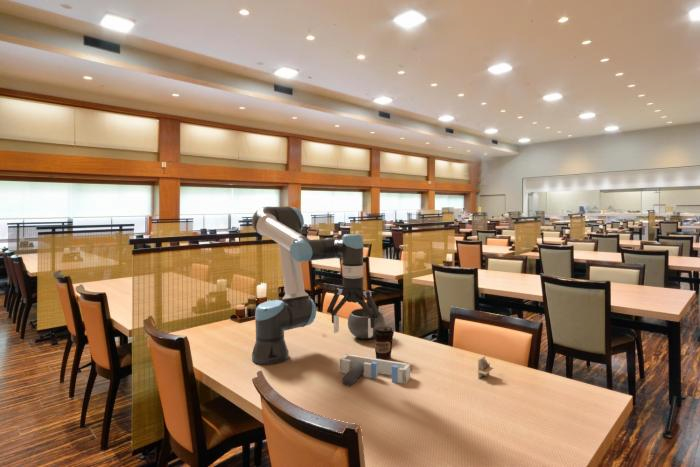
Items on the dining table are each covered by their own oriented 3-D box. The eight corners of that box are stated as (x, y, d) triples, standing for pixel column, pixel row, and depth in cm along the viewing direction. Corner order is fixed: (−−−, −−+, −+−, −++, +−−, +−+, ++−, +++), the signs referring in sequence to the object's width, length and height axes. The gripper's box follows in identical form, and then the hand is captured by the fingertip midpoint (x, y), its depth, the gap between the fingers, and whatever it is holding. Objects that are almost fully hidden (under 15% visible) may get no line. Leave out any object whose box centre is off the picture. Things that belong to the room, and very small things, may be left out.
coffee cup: (392, 363, 160) (392, 331, 160) (372, 362, 162) (372, 330, 161) (394, 355, 169) (394, 325, 168) (375, 354, 171) (375, 324, 170)
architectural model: (493, 377, 148) (493, 357, 148) (485, 383, 143) (486, 363, 142) (484, 374, 150) (484, 355, 150) (476, 380, 145) (476, 360, 145)
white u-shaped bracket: (339, 372, 152) (339, 358, 152) (346, 366, 158) (346, 352, 158) (405, 384, 141) (405, 368, 141) (410, 377, 147) (410, 362, 147)
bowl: (390, 335, 196) (391, 310, 196) (373, 346, 181) (373, 318, 180) (360, 329, 206) (360, 305, 205) (340, 339, 191) (340, 313, 190)
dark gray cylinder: (350, 388, 140) (353, 377, 139) (341, 383, 142) (343, 373, 141) (363, 375, 151) (366, 365, 150) (354, 370, 153) (356, 361, 152)
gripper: (317, 276, 146) (318, 332, 147) (382, 280, 136) (382, 341, 137) (326, 273, 153) (327, 327, 154) (388, 277, 143) (388, 335, 144)
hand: (353, 334), depth 145 cm, fingers open, 13 cm apart
